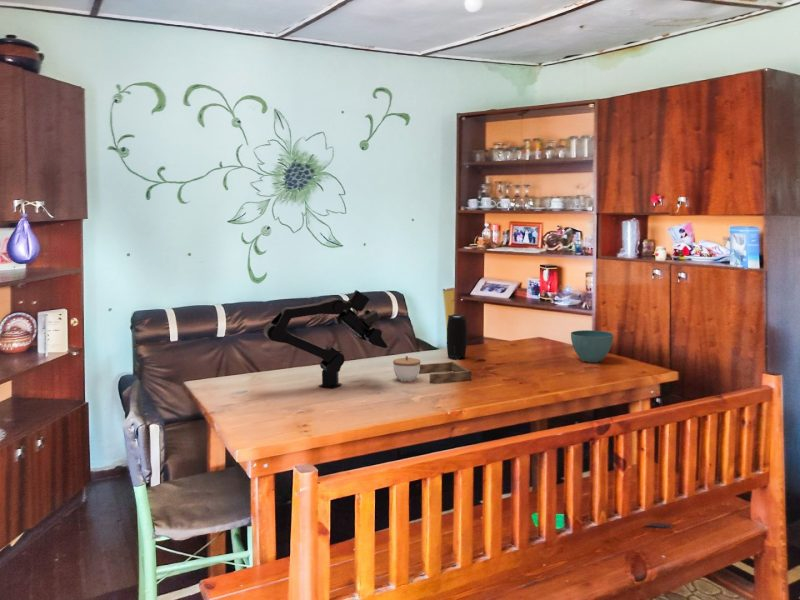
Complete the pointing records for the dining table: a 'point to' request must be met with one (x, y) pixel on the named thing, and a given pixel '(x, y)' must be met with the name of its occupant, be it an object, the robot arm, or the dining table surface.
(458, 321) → the portable speaker
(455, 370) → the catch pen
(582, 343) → the teal round bowl
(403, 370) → the lidded jar
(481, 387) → the dining table surface
